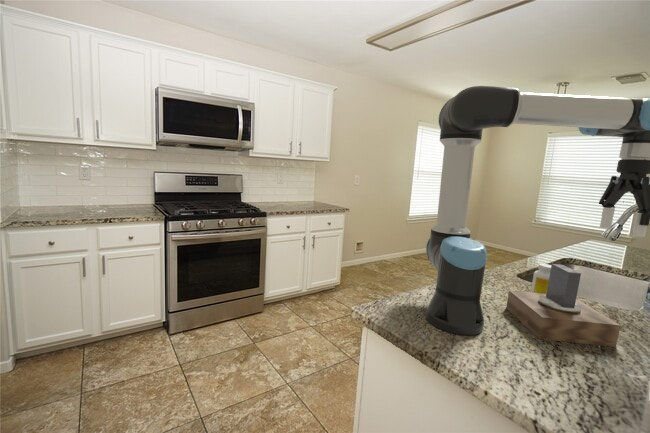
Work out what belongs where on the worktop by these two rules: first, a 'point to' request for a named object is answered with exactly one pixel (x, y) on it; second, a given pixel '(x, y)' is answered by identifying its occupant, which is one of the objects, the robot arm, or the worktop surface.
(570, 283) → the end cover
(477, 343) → the worktop surface
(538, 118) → the robot arm
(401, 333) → the worktop surface
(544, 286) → the supplement bottle
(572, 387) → the worktop surface
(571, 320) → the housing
